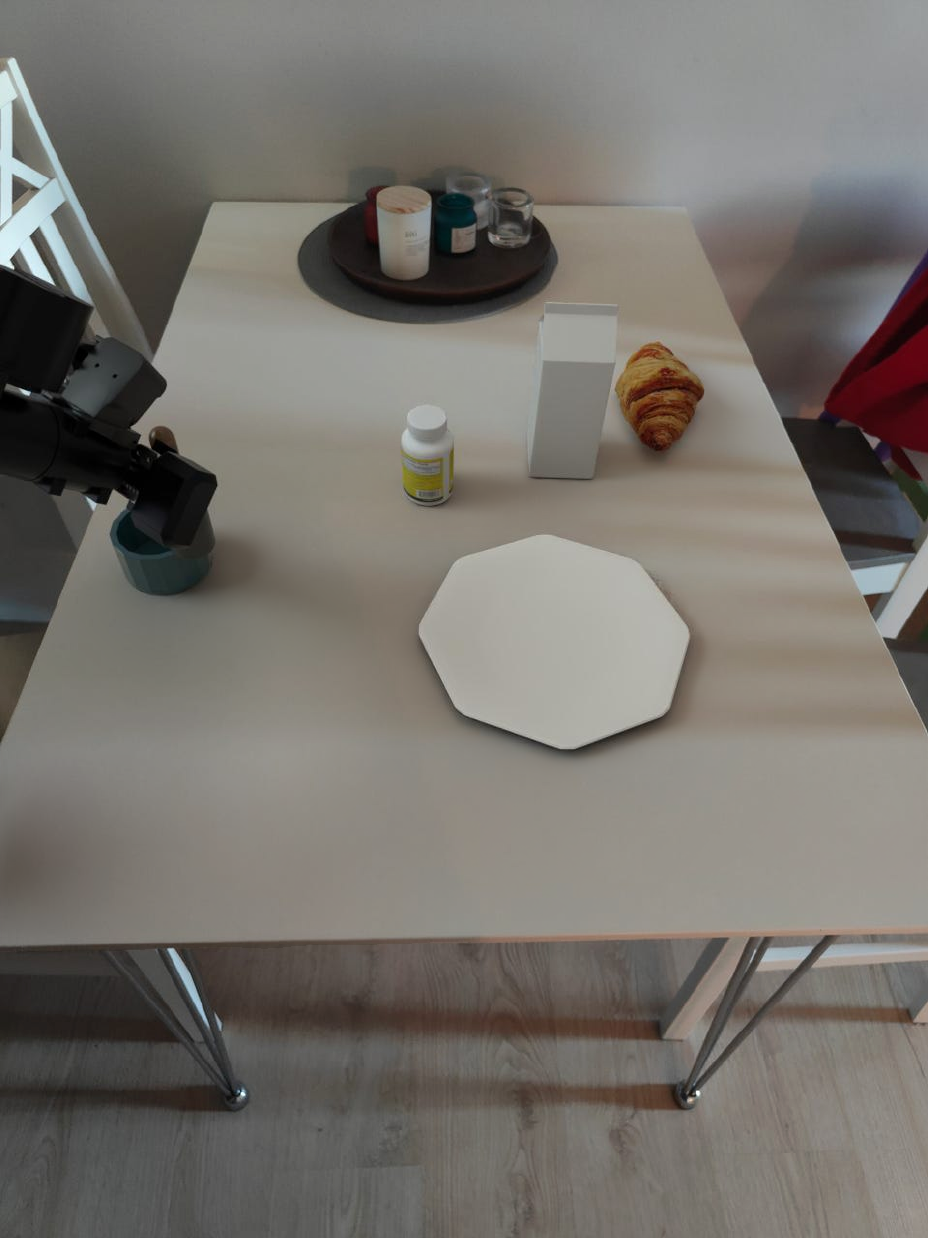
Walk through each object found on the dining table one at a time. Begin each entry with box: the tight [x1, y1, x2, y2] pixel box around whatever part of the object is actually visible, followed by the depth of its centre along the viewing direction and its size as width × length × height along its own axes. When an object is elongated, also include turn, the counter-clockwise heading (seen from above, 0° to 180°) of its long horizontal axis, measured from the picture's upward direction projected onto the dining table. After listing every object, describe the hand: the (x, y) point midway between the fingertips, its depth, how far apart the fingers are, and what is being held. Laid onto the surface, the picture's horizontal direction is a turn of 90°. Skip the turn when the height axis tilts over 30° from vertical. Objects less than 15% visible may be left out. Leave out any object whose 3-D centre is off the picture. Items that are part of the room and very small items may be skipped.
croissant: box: [614, 340, 705, 453], centre depth 101 cm, size 21×10×8 cm, turn 175°
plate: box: [418, 534, 691, 751], centre depth 79 cm, size 24×24×2 cm
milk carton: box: [526, 301, 620, 480], centre depth 89 cm, size 7×7×19 cm
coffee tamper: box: [147, 425, 217, 560], centre depth 72 cm, size 4×4×13 cm
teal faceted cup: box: [109, 508, 213, 596], centre depth 82 cm, size 8×8×5 cm
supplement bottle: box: [400, 404, 455, 507], centre depth 88 cm, size 5×5×10 cm
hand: (188, 479), depth 73 cm, fingers closed on coffee tamper, 2 cm apart
